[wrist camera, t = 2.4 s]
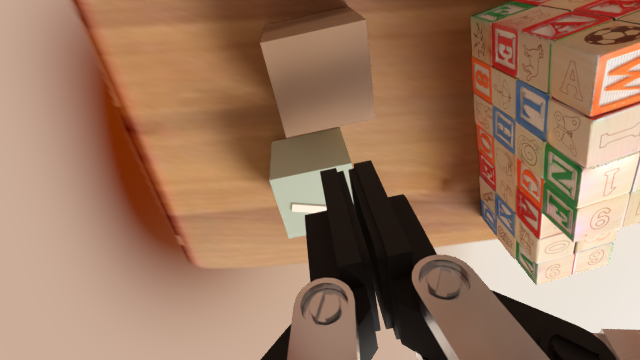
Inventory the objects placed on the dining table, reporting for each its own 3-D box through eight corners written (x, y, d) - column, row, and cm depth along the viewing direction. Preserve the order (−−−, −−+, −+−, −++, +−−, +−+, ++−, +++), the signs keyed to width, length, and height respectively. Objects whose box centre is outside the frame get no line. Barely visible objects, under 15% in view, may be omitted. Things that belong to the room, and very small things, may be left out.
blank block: (265, 25, 23) (259, 43, 18) (348, 6, 23) (366, 19, 18) (285, 104, 26) (286, 137, 21) (358, 88, 26) (375, 118, 21)
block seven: (271, 141, 28) (269, 181, 23) (339, 126, 28) (351, 164, 23) (288, 194, 31) (289, 239, 26) (348, 182, 31) (361, 225, 26)
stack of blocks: (537, 199, 35) (641, 297, 25) (480, 217, 36) (557, 319, 26) (554, -19, 23) (767, -1, 13) (467, 14, 24) (604, 55, 14)
